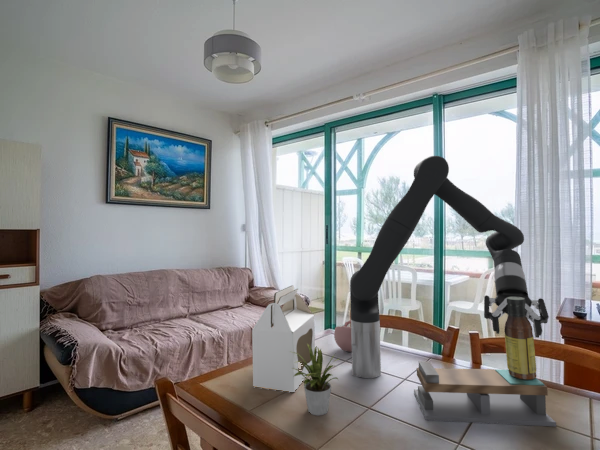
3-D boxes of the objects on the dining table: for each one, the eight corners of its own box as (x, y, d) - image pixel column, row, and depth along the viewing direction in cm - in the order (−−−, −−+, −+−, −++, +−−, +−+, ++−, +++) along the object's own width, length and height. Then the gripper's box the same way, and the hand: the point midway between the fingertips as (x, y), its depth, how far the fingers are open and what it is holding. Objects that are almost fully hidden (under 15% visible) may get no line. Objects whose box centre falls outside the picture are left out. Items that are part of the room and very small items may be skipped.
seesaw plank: (425, 391, 84) (424, 375, 84) (416, 375, 94) (416, 360, 94) (547, 395, 80) (546, 378, 81) (525, 377, 90) (524, 362, 91)
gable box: (293, 393, 97) (291, 295, 98) (252, 388, 101) (250, 294, 102) (315, 364, 118) (313, 284, 119) (280, 361, 122) (279, 283, 123)
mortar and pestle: (369, 347, 134) (368, 318, 134) (361, 358, 123) (360, 326, 123) (339, 344, 139) (339, 316, 139) (330, 354, 128) (329, 323, 128)
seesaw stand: (425, 420, 82) (425, 396, 82) (414, 392, 96) (413, 372, 96) (556, 426, 78) (555, 401, 78) (524, 397, 92) (523, 376, 92)
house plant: (279, 401, 93) (278, 341, 93) (324, 391, 98) (323, 334, 98) (300, 429, 79) (299, 358, 80) (351, 415, 85) (349, 349, 85)
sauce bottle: (527, 371, 89) (524, 295, 89) (542, 381, 83) (538, 299, 83) (501, 371, 90) (498, 295, 90) (514, 381, 83) (510, 300, 84)
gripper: (481, 273, 97) (485, 323, 86) (542, 274, 91) (554, 329, 80) (481, 288, 102) (485, 338, 91) (538, 291, 95) (549, 344, 85)
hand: (517, 334), depth 86 cm, fingers open, 8 cm apart
